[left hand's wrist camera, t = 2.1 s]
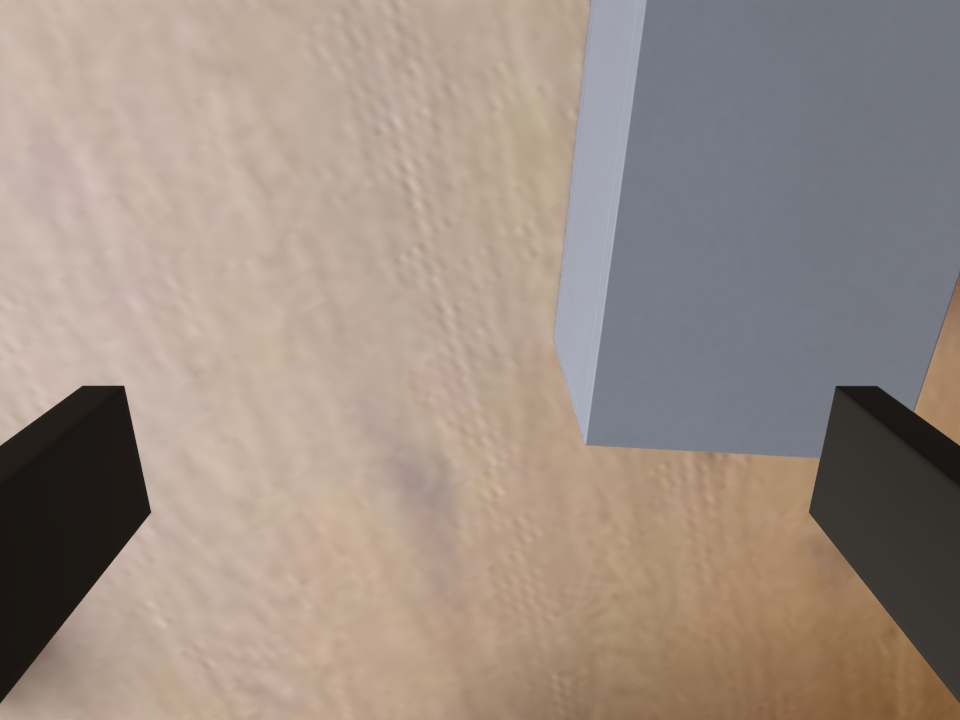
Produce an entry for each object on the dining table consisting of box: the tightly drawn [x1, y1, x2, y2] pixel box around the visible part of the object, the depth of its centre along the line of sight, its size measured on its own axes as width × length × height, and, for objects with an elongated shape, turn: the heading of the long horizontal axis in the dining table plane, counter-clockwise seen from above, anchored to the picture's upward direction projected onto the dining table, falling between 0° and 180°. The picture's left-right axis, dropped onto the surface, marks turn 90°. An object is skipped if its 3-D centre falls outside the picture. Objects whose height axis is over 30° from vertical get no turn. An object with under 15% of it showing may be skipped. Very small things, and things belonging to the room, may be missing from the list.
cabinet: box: [554, 0, 960, 458], centre depth 25 cm, size 22×11×11 cm, turn 176°
